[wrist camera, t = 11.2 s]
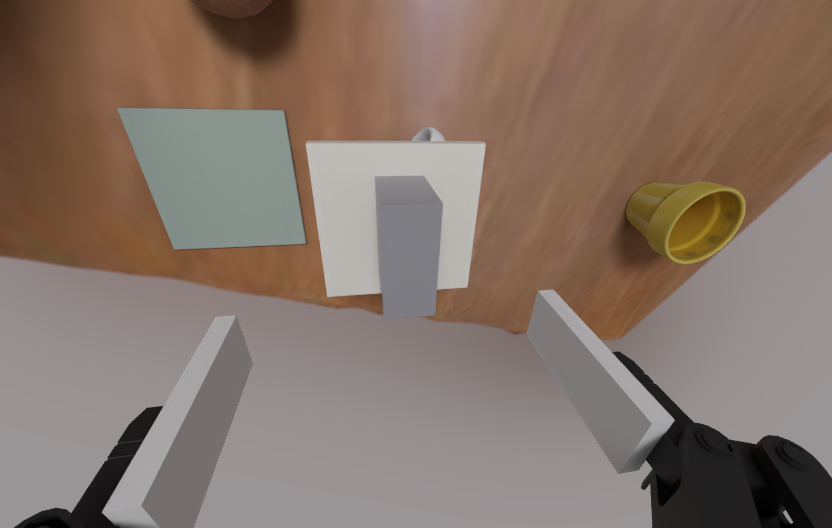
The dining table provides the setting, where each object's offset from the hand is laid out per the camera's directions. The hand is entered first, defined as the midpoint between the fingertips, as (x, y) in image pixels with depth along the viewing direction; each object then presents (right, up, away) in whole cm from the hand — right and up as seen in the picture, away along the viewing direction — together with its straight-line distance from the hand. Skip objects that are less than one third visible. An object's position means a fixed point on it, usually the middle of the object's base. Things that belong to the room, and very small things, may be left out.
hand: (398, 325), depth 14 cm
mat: (-22, +12, +23) cm, 34 cm away
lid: (-1, +7, +15) cm, 16 cm away
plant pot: (+36, +12, +34) cm, 50 cm away
